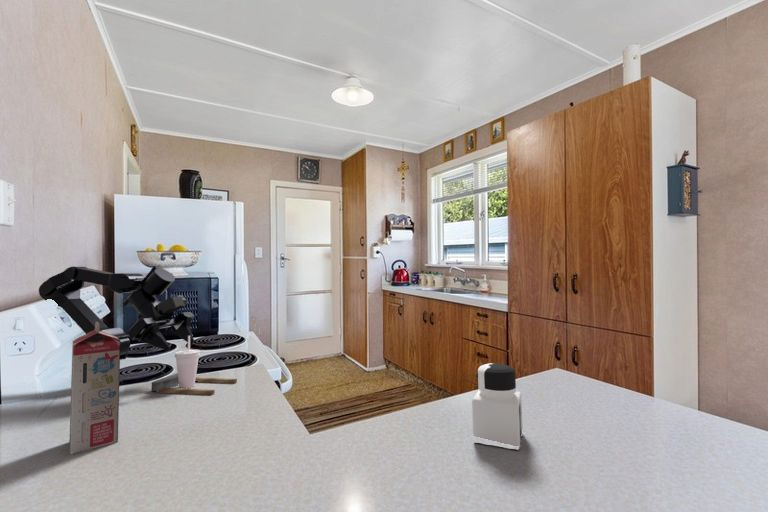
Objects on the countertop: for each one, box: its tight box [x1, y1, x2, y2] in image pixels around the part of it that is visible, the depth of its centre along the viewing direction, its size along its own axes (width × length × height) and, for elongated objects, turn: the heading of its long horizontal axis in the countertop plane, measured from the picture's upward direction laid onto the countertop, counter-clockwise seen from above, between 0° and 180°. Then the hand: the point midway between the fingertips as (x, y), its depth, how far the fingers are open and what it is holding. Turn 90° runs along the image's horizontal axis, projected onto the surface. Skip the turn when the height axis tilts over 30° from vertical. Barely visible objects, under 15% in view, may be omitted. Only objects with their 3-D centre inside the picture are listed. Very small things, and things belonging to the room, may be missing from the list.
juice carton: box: [68, 322, 121, 455], centre depth 67 cm, size 7×7×22 cm
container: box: [471, 362, 524, 447], centre depth 65 cm, size 8×8×13 cm
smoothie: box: [174, 336, 201, 389], centre depth 100 cm, size 6×6×14 cm
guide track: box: [151, 372, 238, 396], centre depth 99 cm, size 18×11×2 cm, turn 80°
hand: (181, 346), depth 100 cm, fingers open, 9 cm apart
